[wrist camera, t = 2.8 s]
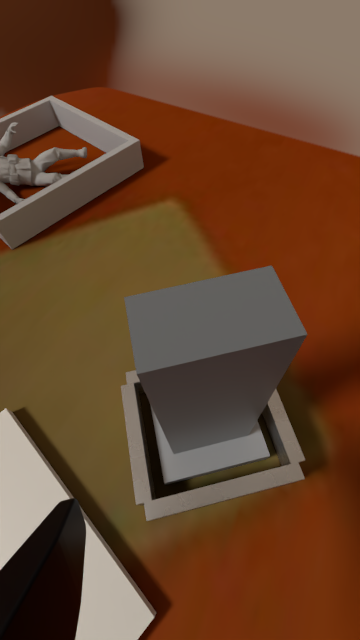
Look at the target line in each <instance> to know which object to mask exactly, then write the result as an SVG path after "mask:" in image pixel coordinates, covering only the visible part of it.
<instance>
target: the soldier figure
mask: <svg viewBox="0 0 360 640" xmlns="http://www.w3.org/2000/svg"><path fill="white" fill-rule="evenodd" d="M17 124H19V123H16V122H14V123H11V124H10V126H9V127H8V129H7V130H6V132H5V135H4V136H3V137H2V139H1V141H0V192H1V193H2V194H4V195H5V196H6V197H7V198H8V199H10V200H11V201H13V202H14V203H16V204H18V203H20V202H22V200H25V199H21V198H19V197H18V196H17V195H16V194H15V193H14V192H13V191H12V190H11V189H10V188H9V187H8V186H7V185H6V184H4V183H11V184H12V185H17V186H19V185H20V184H22V185H23V184H24V185H30V186H50V185H52V184H53V183H55V182H57V181H59V180H61V179H62V178H64V177H66V176H68V175H62V174H60V173H59V174H58V173H44V171H45V170H46V169H47V168H48V167H49V166H51V165H52V164H54V163H55V162H56V161H59V160H63V159H67V158H72V157H79V156H80V157H82V158H86V157H87V148H86V147H83V149H79V150H68V149H58V148H56V147H54V148H53V149H49V150H47V151H45V152H43V153H41V154H40V155H38V156H37V157H36V159H35V160H31V159H29V158H26V159H25V158H24V159H21V158H18V156H17V155H13V154H9V155H8V157H4V156H3V155H4V154H5V153H6V151H7V150H8V149H9V147H10V146H11V143H12V139H13V135H14V133H17V132H15V131H14V126H16V125H17Z"/></svg>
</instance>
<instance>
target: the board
mask: <svg viewBox="0 0 360 640" xmlns="http://www.w3.org/2000/svg"><path fill="white" fill-rule="evenodd" d="M71 498H74V497H73V496H72V494H71V493H70V491H69V490H68V489H67V487H66V486H65V485H64V483H63V482H62V480H61V479H60V478H59V476H58V475H57V473H56V472H55V471H54V469H53V468H52V466H51V465H50V464H49V462H48V461H47V460H46V458H45V457H44V455H43V454H42V453H41V451H40V450H39V448H38V447H37V446H36V444H35V443H34V441H33V440H32V439H31V437H30V436H29V434H28V433H27V432H26V430H25V429H24V428H23V426H22V425H21V423H20V422H19V421H18V419H17V418H16V416H15V415H14V414H13V412H12V411H10V410H8V409H6V408H5V409H4V410H3V411H2V412H1V413H0V570H1V569H2V567H3V566H4V565H5V564H6V563H7V562H8V560H9V559H10V558H11V557H12V556H13V555H14V554H15V552H16V551H17V550H18V549H19V548H20V547H21V545H22V544H23V543H24V542H25V541H26V540H27V539H28V537H29V536H30V535H31V534H32V533H33V532H34V531H35V529H36V528H37V527H38V526H39V525H40V524H41V522H42V521H43V520H44V519H45V518H46V517H47V516H48V514H49V513H50V512H51V511H52V510H53V509H54V507H55V506H56V505H57V504H58V503H59V502H61V501H63V500H67V499H71ZM80 508H81V507H80ZM81 511H82V514H83V517H84V520H85V524H86V543H85V557H84V571H83V585H82V597H81V606H80V613H79V619H78V625H77V631H76V638H75V640H138V638H139V637H140V636H141V634H142V633H143V632H144V630H145V629H146V628H147V626H148V625H149V624H150V622H151V621H152V620H153V618H154V617H155V615H156V613H157V612H156V611H155V610H154V608H153V607H152V605H151V604H150V603H149V601H148V600H147V598H146V597H145V596H144V594H143V593H142V592H141V590H140V589H139V587H138V586H137V585H136V583H135V582H134V580H133V579H132V578H131V576H130V575H129V573H128V572H127V571H126V569H125V568H124V567H123V565H122V564H121V562H120V561H119V560H118V558H117V557H116V555H115V554H114V553H113V551H112V550H111V548H110V547H109V546H108V544H107V543H106V542H105V540H104V539H103V537H102V536H101V535H100V533H99V532H98V530H97V529H96V528H95V526H94V525H93V523H92V522H91V521H90V519H89V518H88V516H87V515H86V514H85V512H84V511H83V510H82V508H81Z"/></svg>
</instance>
